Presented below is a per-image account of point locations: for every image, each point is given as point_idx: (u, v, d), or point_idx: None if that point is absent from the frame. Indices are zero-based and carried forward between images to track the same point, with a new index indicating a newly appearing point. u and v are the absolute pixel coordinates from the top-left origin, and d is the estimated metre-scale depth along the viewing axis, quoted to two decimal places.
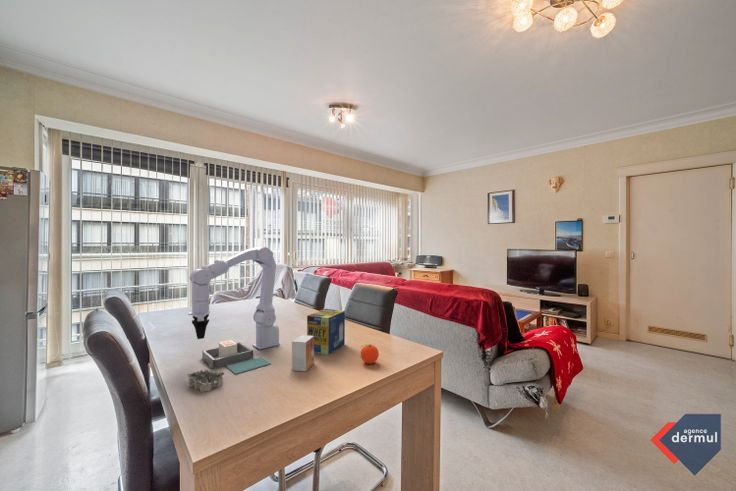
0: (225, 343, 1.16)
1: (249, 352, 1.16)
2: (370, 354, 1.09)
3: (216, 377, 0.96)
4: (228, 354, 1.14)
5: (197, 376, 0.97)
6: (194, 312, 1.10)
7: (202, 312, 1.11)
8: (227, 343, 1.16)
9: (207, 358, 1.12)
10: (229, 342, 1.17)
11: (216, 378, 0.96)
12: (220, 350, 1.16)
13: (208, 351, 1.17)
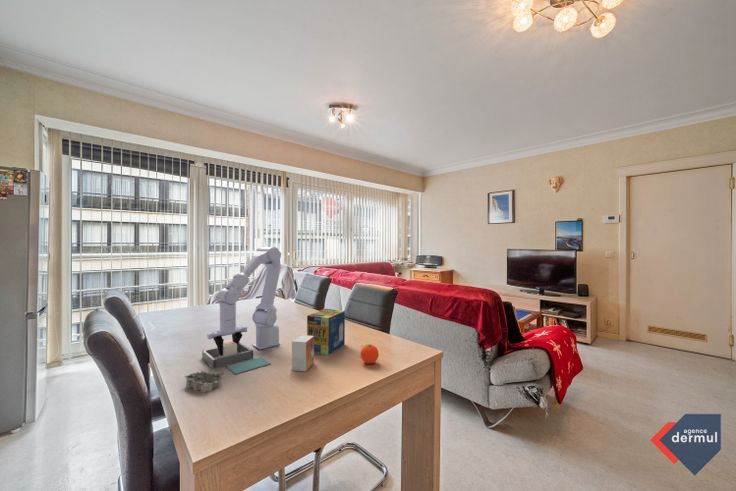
0: (225, 343, 1.16)
1: (249, 352, 1.16)
2: (370, 354, 1.09)
3: (215, 377, 0.96)
4: (228, 354, 1.14)
5: (194, 378, 0.95)
6: None
7: (220, 331, 1.14)
8: (227, 343, 1.16)
9: (207, 358, 1.12)
10: (229, 342, 1.17)
11: (215, 378, 0.96)
12: None
13: (208, 351, 1.17)
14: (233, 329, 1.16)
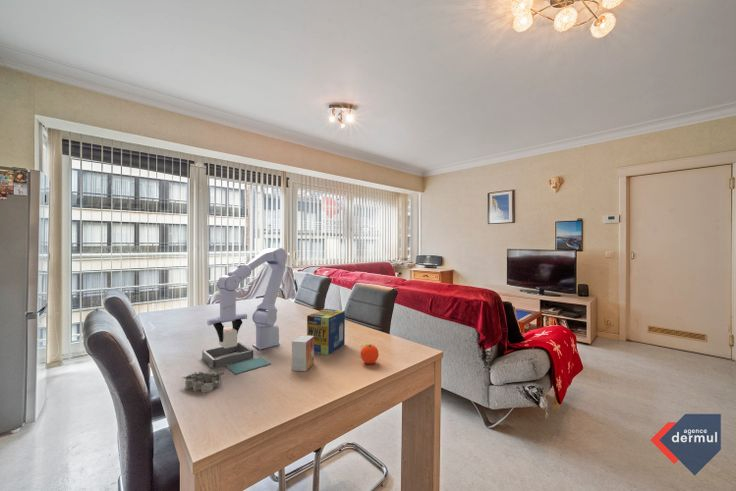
0: (225, 329, 1.16)
1: (249, 352, 1.16)
2: (370, 354, 1.09)
3: (214, 377, 0.95)
4: (228, 340, 1.14)
5: (193, 378, 0.95)
6: None
7: (220, 317, 1.14)
8: (227, 329, 1.16)
9: (207, 358, 1.12)
10: (229, 329, 1.17)
11: (214, 378, 0.95)
12: None
13: (208, 351, 1.17)
14: (233, 316, 1.16)
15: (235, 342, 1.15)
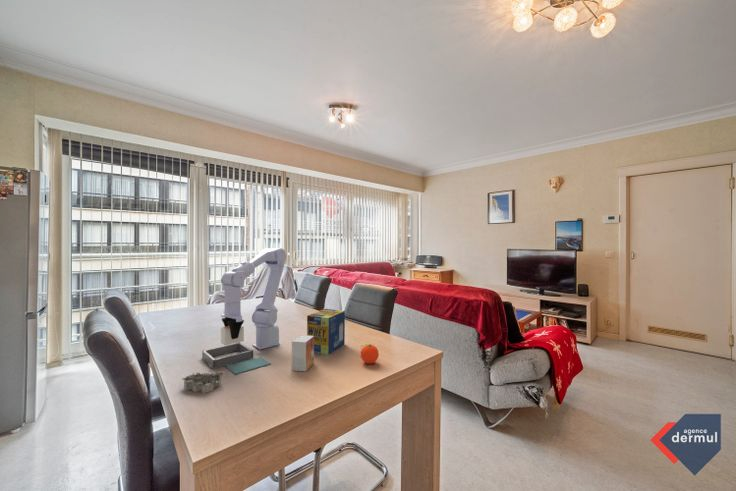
0: None
1: (249, 352, 1.16)
2: (370, 354, 1.09)
3: (213, 378, 0.95)
4: None
5: (191, 379, 0.94)
6: (228, 313, 1.12)
7: (236, 313, 1.13)
8: None
9: (207, 358, 1.12)
10: None
11: (213, 379, 0.95)
12: (230, 335, 1.12)
13: (208, 351, 1.17)
14: None
15: None
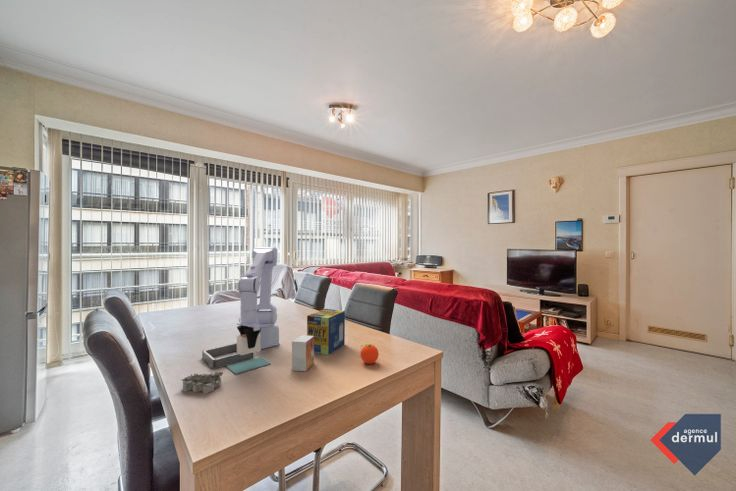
0: None
1: None
2: (370, 354, 1.09)
3: (213, 378, 0.95)
4: None
5: (189, 381, 0.93)
6: (245, 321, 1.07)
7: (253, 321, 1.08)
8: None
9: (207, 358, 1.12)
10: None
11: (213, 379, 0.95)
12: (247, 344, 1.07)
13: (208, 351, 1.17)
14: None
15: None
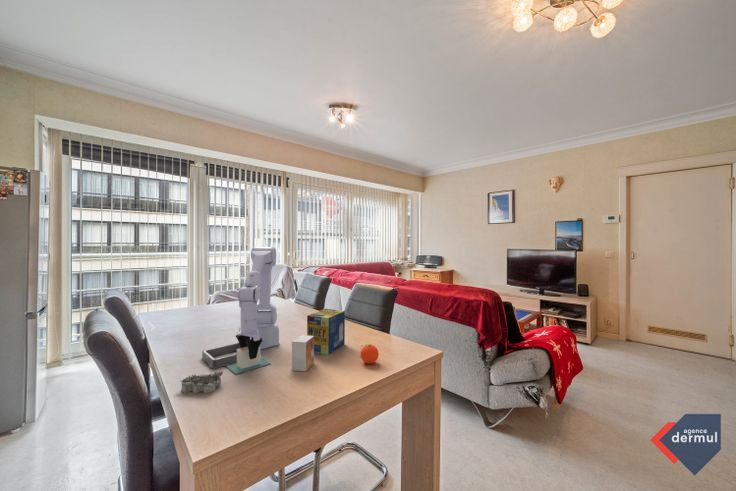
0: None
1: None
2: (370, 354, 1.09)
3: (212, 378, 0.95)
4: None
5: (188, 382, 0.92)
6: (245, 331, 1.07)
7: (253, 331, 1.08)
8: None
9: (207, 358, 1.12)
10: (247, 347, 1.10)
11: (212, 379, 0.95)
12: (246, 358, 1.07)
13: (208, 351, 1.17)
14: None
15: None
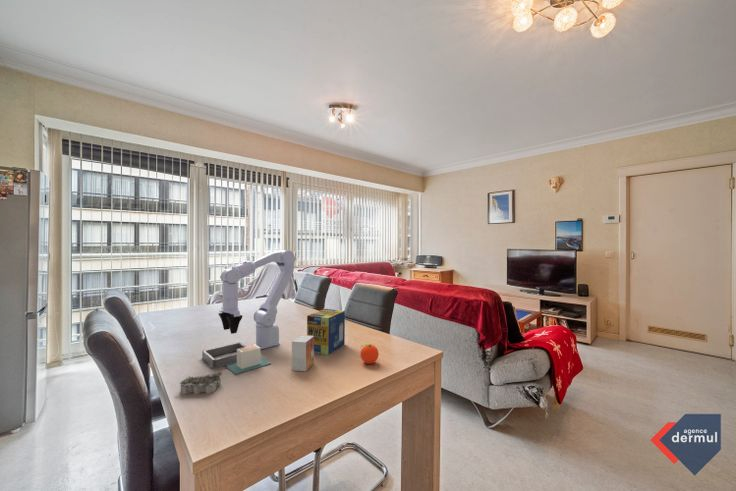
0: (249, 348, 1.09)
1: None
2: (370, 354, 1.09)
3: (211, 379, 0.95)
4: None
5: (187, 384, 0.91)
6: (226, 309, 1.18)
7: (234, 309, 1.20)
8: (250, 347, 1.10)
9: (207, 358, 1.12)
10: (247, 347, 1.10)
11: (211, 380, 0.95)
12: (246, 358, 1.07)
13: (208, 351, 1.17)
14: None
15: None
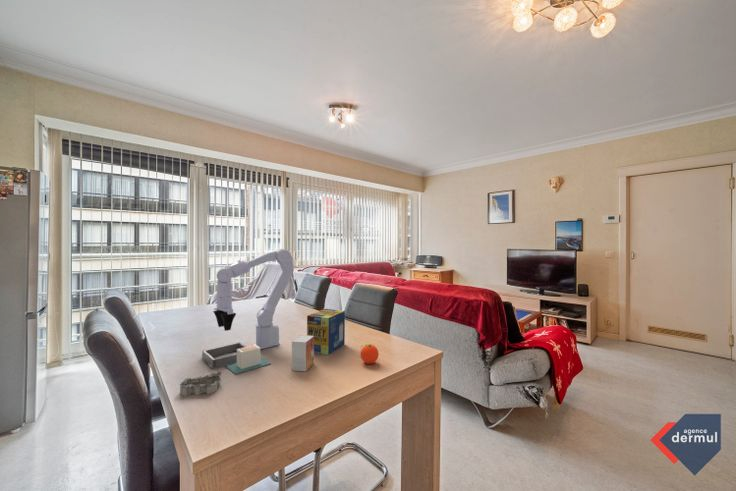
0: (249, 348, 1.09)
1: None
2: (370, 354, 1.09)
3: (210, 379, 0.94)
4: None
5: (186, 385, 0.90)
6: (220, 306, 1.22)
7: (228, 306, 1.24)
8: (250, 347, 1.10)
9: (207, 358, 1.12)
10: (247, 347, 1.10)
11: (210, 380, 0.94)
12: (246, 358, 1.07)
13: (208, 351, 1.17)
14: None
15: None
